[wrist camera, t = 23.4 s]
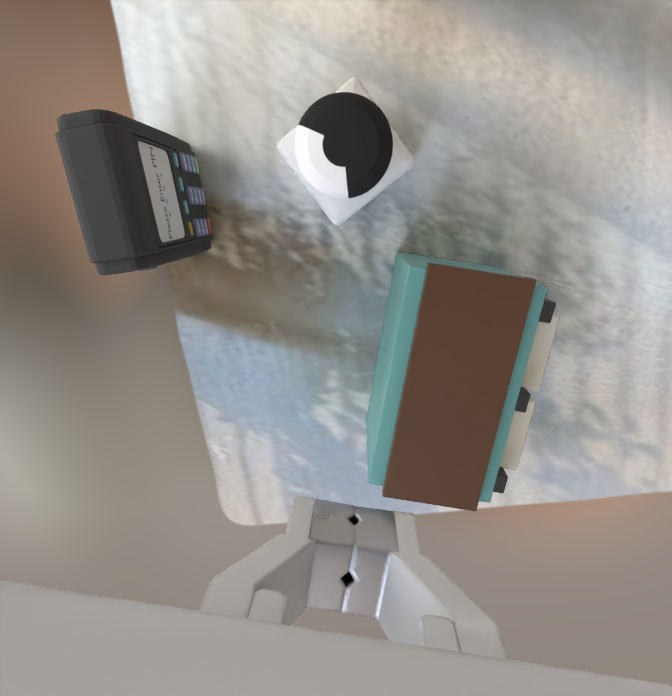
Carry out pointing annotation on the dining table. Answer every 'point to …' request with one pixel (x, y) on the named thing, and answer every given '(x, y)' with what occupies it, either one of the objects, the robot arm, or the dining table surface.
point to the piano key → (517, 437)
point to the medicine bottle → (345, 151)
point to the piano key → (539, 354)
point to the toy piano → (450, 378)
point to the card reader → (132, 191)
